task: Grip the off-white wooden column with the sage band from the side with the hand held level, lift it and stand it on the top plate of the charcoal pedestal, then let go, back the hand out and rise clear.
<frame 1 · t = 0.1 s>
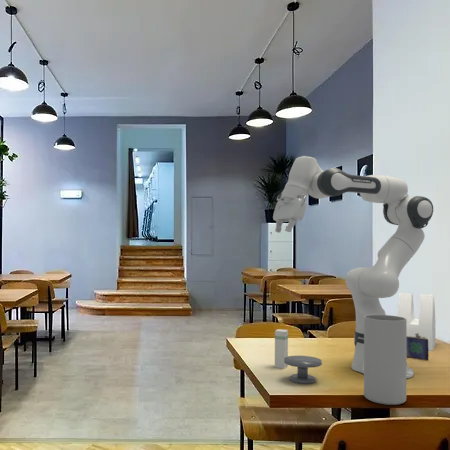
hand: (282, 231, 171), 52 cm above the table, tool tilted 20°, fingers open, 8 cm apart
white u-shaped block: (416, 346, 226), on the table
pedestal: (302, 380, 163), on the table
cylinder vase: (384, 399, 145), on the table
column: (281, 366, 181), on the table
flask: (417, 358, 199), on the table
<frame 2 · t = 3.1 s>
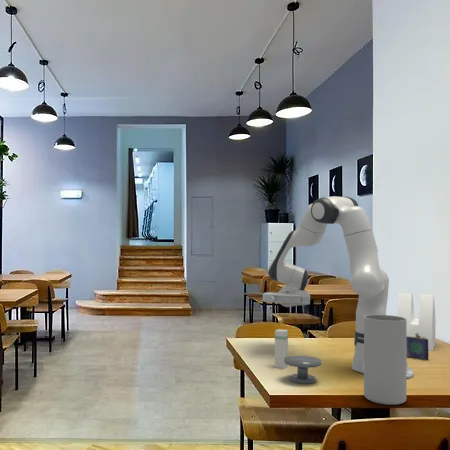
hand: (284, 300, 193), 24 cm above the table, tool horizontal, fingers open, 8 cm apart
nothing on the table moved.
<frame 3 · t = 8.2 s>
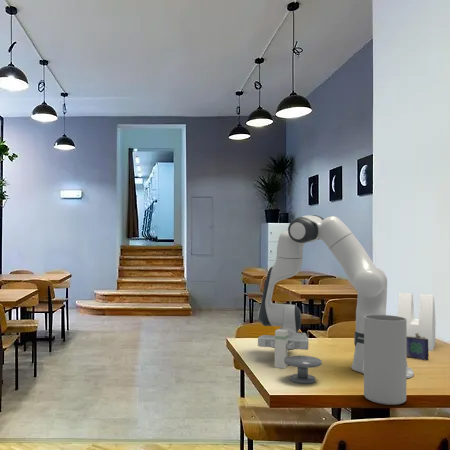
hand: (281, 346, 180), 8 cm above the table, tool horizontal, fingers closed on column, 4 cm apart
column: (281, 366, 181), on the table, touching gripper
everything else where it was.
when the fingers open (16 cm above the table, at t = 13.7 s): column drops 1 cm, resting on pedestal.
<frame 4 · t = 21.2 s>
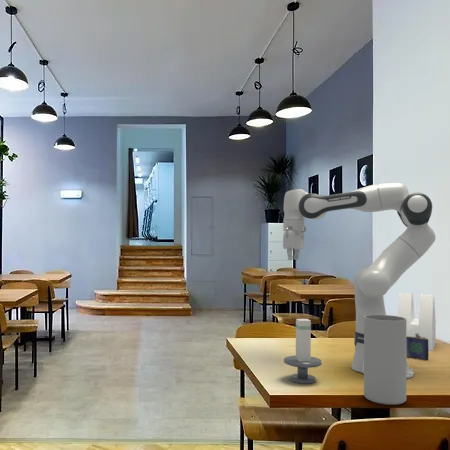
hand: (293, 259, 197), 41 cm above the table, tool pointing down, fingers open, 8 cm apart
column: (302, 359, 163), point 7 cm above the table, touching pedestal
everything else where it was.
at the end: column inside the target area on the pedestal (0.0 cm from its centre), point 7.0 cm above the pedestal's base; column tilted 0°; the gripper is holding nothing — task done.
